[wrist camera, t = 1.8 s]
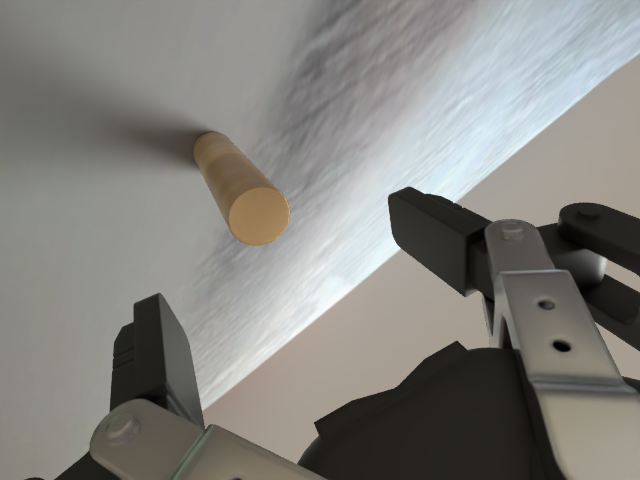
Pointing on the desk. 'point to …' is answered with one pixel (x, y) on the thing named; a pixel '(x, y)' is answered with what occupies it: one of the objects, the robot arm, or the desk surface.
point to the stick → (241, 191)
